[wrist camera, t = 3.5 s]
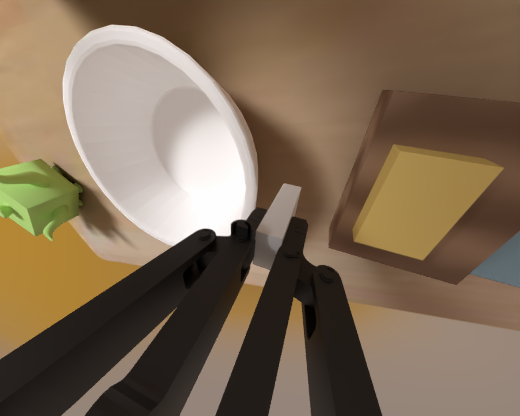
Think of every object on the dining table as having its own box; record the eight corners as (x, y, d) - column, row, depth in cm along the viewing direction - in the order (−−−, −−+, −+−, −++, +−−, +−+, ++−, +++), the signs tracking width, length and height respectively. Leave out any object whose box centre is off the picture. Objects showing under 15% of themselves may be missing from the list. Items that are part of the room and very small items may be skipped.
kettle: (66, 153, 36) (-21, 175, 27) (107, 214, 43) (48, 247, 34) (28, 157, 42) (-55, 176, 33) (70, 211, 49) (11, 238, 40)
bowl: (203, -21, 17) (114, -94, 10) (311, 188, 23) (301, 228, 17) (110, 119, 28) (41, 129, 22) (200, 231, 35) (169, 264, 29)
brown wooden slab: (383, 90, 16) (394, 90, 13) (578, 109, 13) (653, 115, 10) (329, 227, 25) (328, 247, 22) (439, 257, 22) (456, 284, 19)
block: (393, 144, 15) (400, 151, 13) (484, 158, 13) (504, 167, 12) (352, 229, 20) (353, 241, 18) (415, 245, 19) (422, 260, 17)
